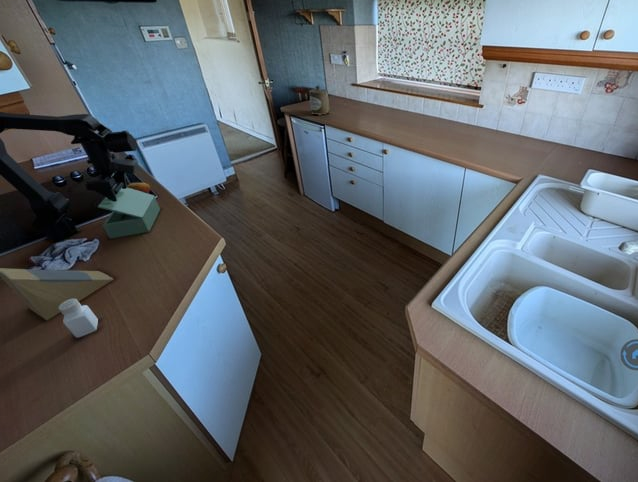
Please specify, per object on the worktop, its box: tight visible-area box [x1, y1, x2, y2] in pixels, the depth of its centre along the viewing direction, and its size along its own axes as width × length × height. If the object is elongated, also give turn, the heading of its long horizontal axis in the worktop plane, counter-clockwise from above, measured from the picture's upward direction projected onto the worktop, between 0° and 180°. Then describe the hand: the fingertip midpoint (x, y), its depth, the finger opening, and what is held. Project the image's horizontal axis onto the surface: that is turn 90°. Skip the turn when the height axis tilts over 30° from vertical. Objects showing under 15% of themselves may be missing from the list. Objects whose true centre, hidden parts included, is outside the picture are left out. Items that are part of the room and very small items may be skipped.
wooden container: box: [308, 85, 330, 113], centre depth 236 cm, size 15×15×22 cm
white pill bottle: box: [58, 299, 99, 339], centre depth 70 cm, size 4×4×10 cm
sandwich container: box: [0, 267, 114, 321], centre depth 78 cm, size 9×15×15 cm, turn 156°
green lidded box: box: [102, 196, 161, 239], centre depth 109 cm, size 12×16×6 cm
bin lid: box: [97, 182, 155, 218], centre depth 105 cm, size 12×16×5 cm
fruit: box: [126, 182, 151, 194], centre depth 124 cm, size 8×8×8 cm
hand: (120, 194), depth 104 cm, fingers open, 9 cm apart
